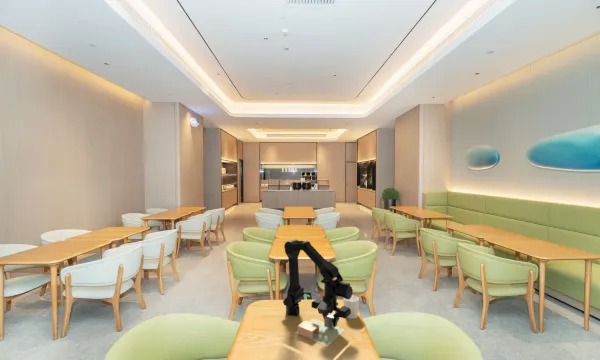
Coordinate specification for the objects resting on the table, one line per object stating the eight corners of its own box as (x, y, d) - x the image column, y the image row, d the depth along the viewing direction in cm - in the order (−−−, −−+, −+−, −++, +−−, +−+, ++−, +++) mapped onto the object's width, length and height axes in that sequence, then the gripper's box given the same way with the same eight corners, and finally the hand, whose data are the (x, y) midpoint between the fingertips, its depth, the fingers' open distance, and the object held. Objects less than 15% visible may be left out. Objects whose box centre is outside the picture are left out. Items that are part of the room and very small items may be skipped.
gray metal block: (324, 326, 141) (324, 316, 141) (329, 322, 144) (329, 312, 144) (332, 329, 138) (332, 318, 138) (337, 325, 142) (337, 315, 141)
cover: (297, 333, 137) (297, 325, 137) (305, 327, 142) (305, 320, 142) (311, 339, 132) (311, 331, 132) (319, 333, 137) (319, 325, 137)
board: (294, 334, 138) (294, 325, 138) (313, 320, 151) (313, 311, 151) (327, 348, 127) (327, 338, 127) (345, 331, 140) (345, 322, 140)
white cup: (358, 321, 149) (358, 302, 149) (342, 320, 151) (342, 300, 150) (358, 314, 157) (358, 295, 156) (343, 312, 158) (343, 294, 158)
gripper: (304, 294, 140) (304, 326, 140) (339, 305, 129) (339, 340, 129) (317, 286, 149) (317, 316, 149) (351, 295, 137) (351, 328, 138)
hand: (330, 325), depth 141 cm, fingers closed on gray metal block, 4 cm apart
